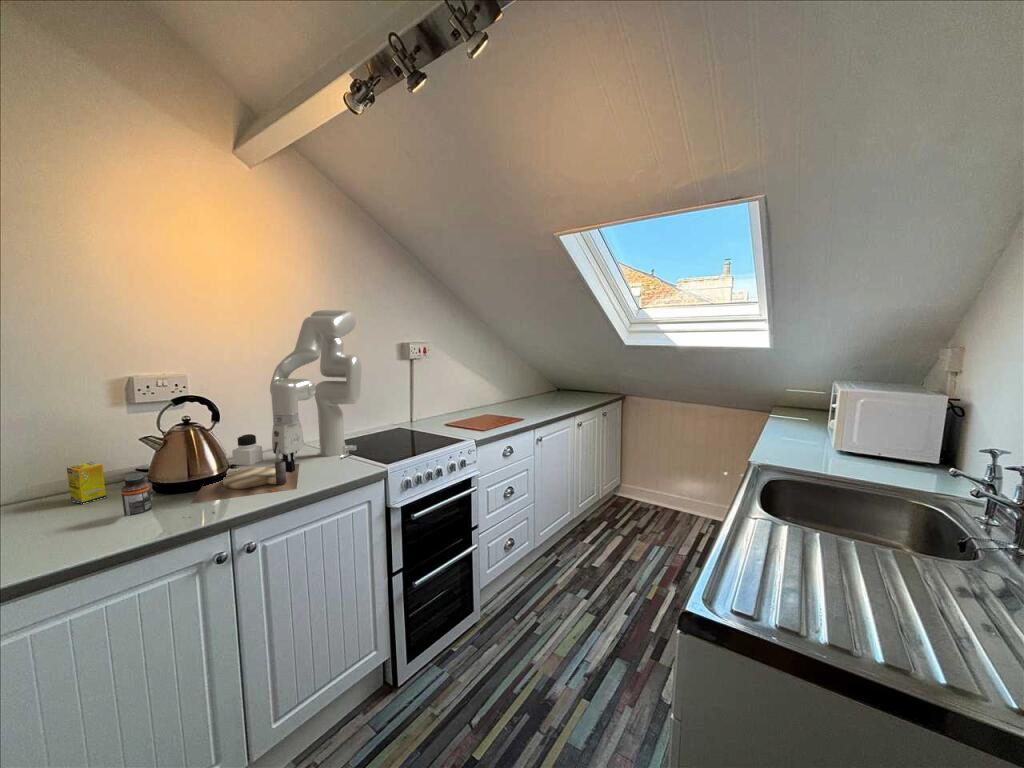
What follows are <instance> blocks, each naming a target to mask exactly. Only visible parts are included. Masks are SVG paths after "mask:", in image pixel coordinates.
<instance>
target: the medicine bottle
mask: <svg viewBox="0 0 1024 768" xmlns="http://www.w3.org/2000/svg"><path fill="white" fill-rule="evenodd" d="M256 437H257V436H256V435H255V434H249V433H248V434H241V435H239V436H238V437H237V438H236V439H237V440H236V441H237V448H235V449H232V450H231V451H232V452H231V453H232V464H233V465H235V466H236V465H238V466H239V465H240V466H252V465H254V464H256V463H258V462H263V461H264V457H263V456H264V454H263V446H262V445H257V438H256Z"/></svg>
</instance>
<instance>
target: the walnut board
mask: <svg viewBox="0 0 1024 768" xmlns="http://www.w3.org/2000/svg"><path fill="white" fill-rule="evenodd" d="M267 467H268V468H275V465H274V466H267ZM241 470H242V469H240V470H230V471H227V472H228V473H227V475H229V474H231V473H234V472H237V471H241ZM299 473H300V463H295V471H293V472H286V481H287V482H286V483H285V484H281V485H278V484H270V483H268V484H265V485H261V486H257V487H251V488H243V489H232V488H227V487H225V486H224V485H223V480H221V481H219V482H216V483H213V484H209V485H206V486H203V485H202V487H201V488H200V489H199V491H197V493H196V494H195V496H194V497H193V499H192V501H191V502H190V504H196V503H197V504H198V503H205V502H211V501H219V500H227V499H233V498H241V497H242V498H243V497H248V496H256V495H265V494H270V493H271V494H272V493H278V492H286V491H293V490H297V489H298V488H297V487H298V481H299V479H298V478H299ZM227 475H226V476H227Z"/></svg>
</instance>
